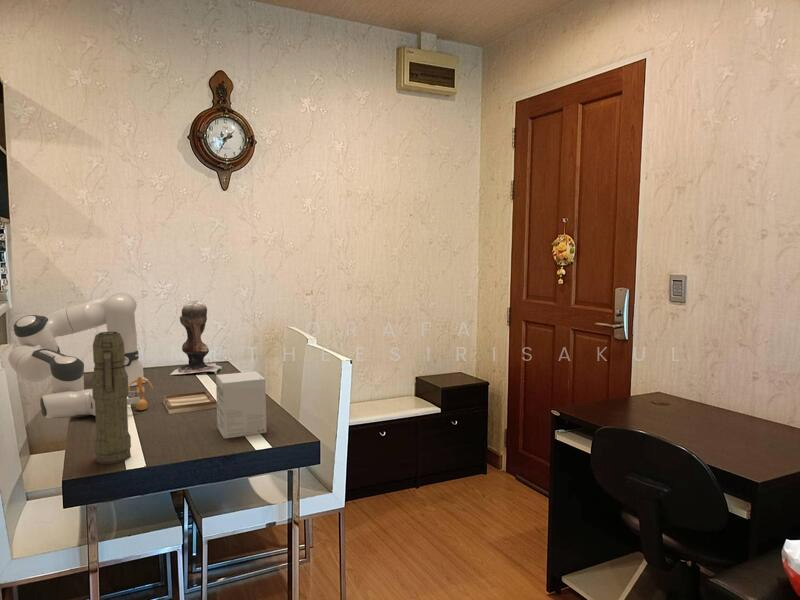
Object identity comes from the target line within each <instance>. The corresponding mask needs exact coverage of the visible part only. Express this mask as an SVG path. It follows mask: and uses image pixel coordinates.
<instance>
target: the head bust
mask: <svg viewBox="0 0 800 600" xmlns="http://www.w3.org/2000/svg"><path fill="white" fill-rule="evenodd" d="M207 314H208V308H207V306H206V304H205V303H203V302H200V301H199V300H191V301H189V302H187V303H186V304H184V305H183V306H182V309H181V315H180V316H179V321H180V325H182V326H183V327H184V328H185V332H186V335H187V336H186V337H187V338H186V341H184V343H183V344H182V347H181V350H182V352H183V353H184V354H186V356H187V358H188V363H186V364H185V365H183V366H182V365H181V366H179V367H178V368H176V369H174V370H173V371H172V372H171V373H170V374H169V376H175V375H186V374H194V373H208V372H212V373H214V374H216V375H218V374H217V373H218V371H219V370H223V366H220V365H218V364H217V363H215V362H214V363H213V362H212V363H208V362H207V363H206V362H205V358H206V355H208V354H209V352H210V350H209V348H208V345H207V344H205V343H204V342H203V341H202V334H203V333H204V331H205V328H206V323H207V321H208V317H207Z"/></svg>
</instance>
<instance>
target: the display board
mask: <svg viewBox="0 0 800 600" xmlns="http://www.w3.org/2000/svg"><path fill="white" fill-rule="evenodd" d="M162 403H163V405H164V407H165V408H166V411H167V413H168V415H172V414H173V415H174V414H181V413H182V414H183V413H189V412H195V411H203V410H211V409H217V400H215V398H214V397H213V396H212V395H211V394H210V393H209V391H208V390H201V391H191V392H184V393H175V394H174V393H173V394H165V395H162Z"/></svg>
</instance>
